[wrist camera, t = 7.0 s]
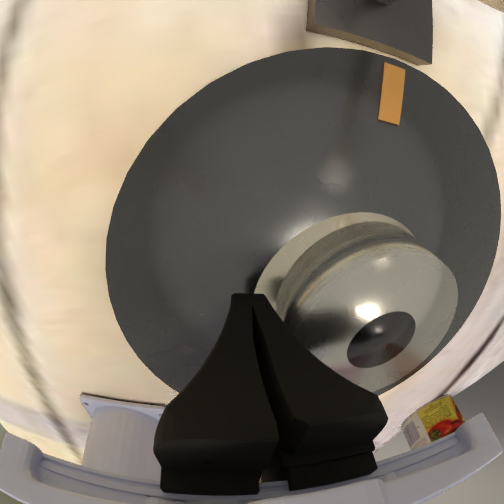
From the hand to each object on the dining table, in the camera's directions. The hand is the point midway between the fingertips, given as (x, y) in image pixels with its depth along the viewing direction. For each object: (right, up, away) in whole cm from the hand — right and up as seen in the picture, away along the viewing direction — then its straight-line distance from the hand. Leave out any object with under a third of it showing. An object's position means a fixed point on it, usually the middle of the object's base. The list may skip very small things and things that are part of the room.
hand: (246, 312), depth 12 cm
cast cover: (+5, 0, +1) cm, 5 cm away
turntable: (+5, +1, +3) cm, 5 cm away
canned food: (+23, -19, +16) cm, 34 cm away
